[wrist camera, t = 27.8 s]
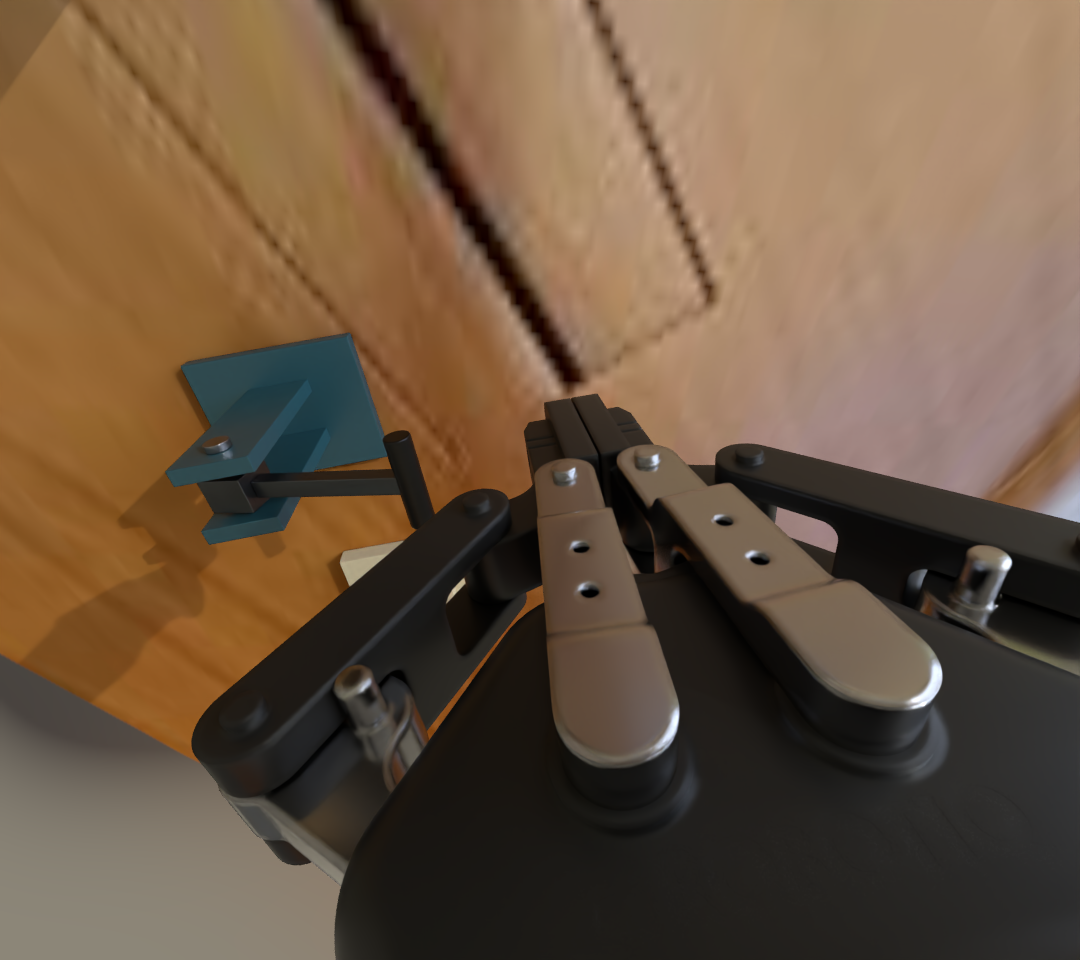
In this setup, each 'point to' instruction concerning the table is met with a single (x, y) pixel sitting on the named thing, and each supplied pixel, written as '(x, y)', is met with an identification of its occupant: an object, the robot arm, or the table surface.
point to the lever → (329, 484)
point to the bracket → (278, 422)
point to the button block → (372, 562)
